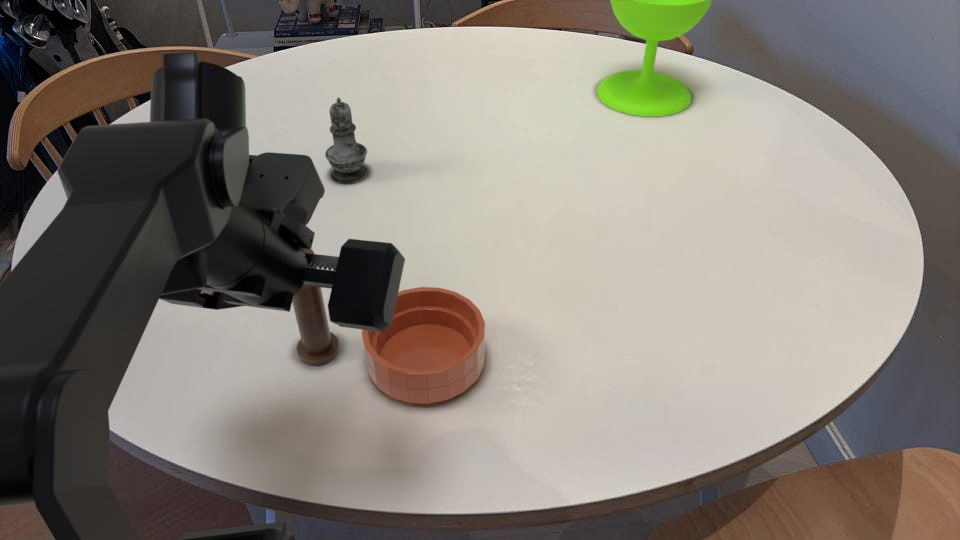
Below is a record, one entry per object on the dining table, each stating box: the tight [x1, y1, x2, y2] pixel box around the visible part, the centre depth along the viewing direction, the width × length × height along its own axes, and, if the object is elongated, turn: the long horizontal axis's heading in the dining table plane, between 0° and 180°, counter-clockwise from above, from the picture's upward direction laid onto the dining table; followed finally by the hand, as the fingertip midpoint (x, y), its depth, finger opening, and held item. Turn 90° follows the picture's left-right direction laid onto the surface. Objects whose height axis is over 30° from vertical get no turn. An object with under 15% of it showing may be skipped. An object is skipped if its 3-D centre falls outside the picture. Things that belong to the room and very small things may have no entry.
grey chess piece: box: [324, 96, 368, 185], centre depth 97 cm, size 6×6×12 cm
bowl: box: [361, 286, 486, 405], centre depth 72 cm, size 12×12×5 cm
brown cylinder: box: [292, 248, 341, 367], centre depth 70 cm, size 4×4×13 cm
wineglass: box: [596, 0, 713, 118], centre depth 114 cm, size 16×16×18 cm
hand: (322, 301), depth 60 cm, fingers open, 9 cm apart
